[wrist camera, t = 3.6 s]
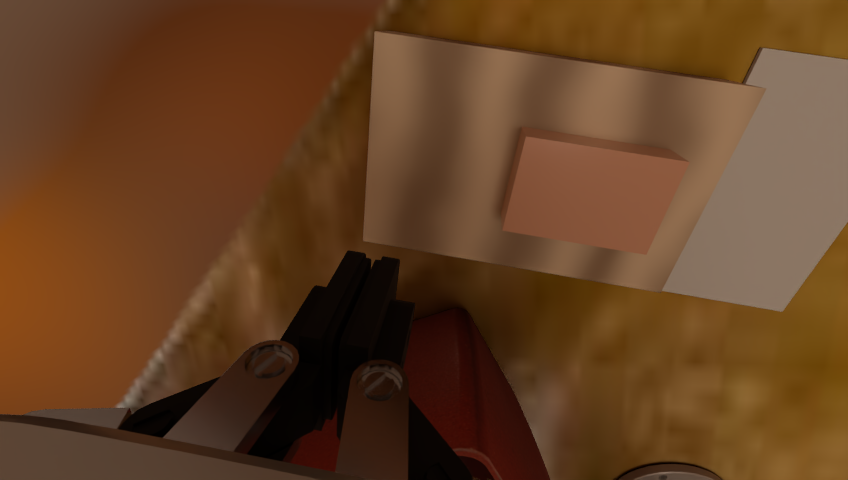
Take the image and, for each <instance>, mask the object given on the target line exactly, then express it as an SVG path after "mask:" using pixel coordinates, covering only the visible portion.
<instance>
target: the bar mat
mask: <svg viewBox="0 0 848 480" xmlns="http://www.w3.org/2000/svg"><path fill="white" fill-rule="evenodd" d="M743 84H748V85H752V86H757V87H762V88H766V91H765V93H764V95H763V97H762V99H761V101H760V102H759V104H758V106H757V108H756V110H755V112H754V114H753V116H752V118H751V120H750V122H749V124H748V126H747V128H746V129H745V131H744V133H743V135H742V137H741V139H740V141H739V143H738V145H737V147H736V149H735V151H734V153H733V154H732V156H731V158H730V160H729V162H728V164H727V166H726V168H725V170H724V172H723V174H722V176H721V178H720V180H719V181H718V183H717V185H716V187H715V189H714V191H713V193H712V195H711V197H710V199H709V201H708V203H707V205H706V206H705V208H704V210H703V212H702V214H701V216H700V218H699V220H698V222H697V224H696V226H695V228H694V230H693V232H692V233H691V235H690V237H689V239H688V241H687V243H686V245H685V247H684V249H683V251H682V253H681V255H680V257H679V258H678V260H677V262H676V264H675V266H674V268H673V270H672V272H671V274H670V276H669V278H668V280H667V282H666V284H665V285H664V287H663V289H662V291H666V292H672V293H678V294H683V295H689V296H695V297H701V298H707V299H712V300H718V301H724V302H730V303H735V304H741V305H747V306H753V307H758V308H764V309H770V310H776V311H783V310H784V309H785V307H786V306H787V304H788V303H789V302H790V300H791V299H792V298H793V296H794V295H795V293H796V292H797V291H798V289H799V288H800V287H801V285H802V284H803V282H804V281H805V280H806V278H807V277H808V276H809V274H810V273H811V271H812V270H813V269H814V267H815V266H816V265H817V263H818V262H819V260H820V259H821V258H822V256H823V255H824V254H825V252H826V251H827V249H828V248H829V247H830V245H831V244H832V243H833V241H834V240H835V238H836V237H837V236H838V234H839V233H840V232H841V230H842V229H843V227H844V226H845V225H846V223H847V222H848V60H845V59H838V58H831V57H824V56H817V55H810V54H803V53H796V52H789V51H782V50H774V49H767V48H760V49H759V51H758V53H757V55H756V57H755V59H754V61H753V63H752V65H751V67H750V69H749V71H748V73H747V75H746V78H745V80H744V82H743Z"/></svg>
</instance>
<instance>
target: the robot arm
mask: <svg viewBox="0 0 848 480" xmlns="http://www.w3.org/2000/svg"><path fill="white" fill-rule="evenodd" d="M399 264H400V260H399V259H395V258H390V257H384V256H383V257H382V259H381V260H375V262H374V264H373V266H372V268H371V259H369V258H366V254H365V253H361V252H355V251H347V253H346V254H345V256H344V258H343V260H342V261H341V263H340V265H339V267H338V268H337V270H336V272H335V273H334V275H333V277H332V279H331V280H330V282H329V284H328V286H327V287H322V286H317V285H316V286H314V287H313V289H312V290H311V292H310V293H309V295H308V296H307V298H306V300H305V301H304V303H303V304H302V306H301V308H300V309H299V311H298V312H297V314H296V316H295V317H294V319H293V320H292V322H291V324H290V325H289V327H288V328H287V330H286V331H285V333H284V335H283V336H282V338H281V339H280V340H268V341H264V342H260V343H258V344H256V345H254V346H252V347H250V348H249V349H248V350H246V351H245V352H244V353H243V354H242V355H241V356H240V357H239V358H238V359H237V360H236V361H235V362H234V363H233V364H232V365H231V367H230V368H229V369H228V370H227V371H226V372H225V373H224V374H223V375H222V376H220V377H218V378H215V379H213V380H210V381H208V382H205V383H202V384H200V385H197V386H195V387H192V388H189V389H187V390H184V391H182V392H179V393H177V394H174V395H171V396H169V397H166V398H164V399H161V400H159V401H156V402H153V403H151V404H149V405H147V406H145V407H143V408H141V409H139V410H137V411H136V412H131V411H130V408H98V409H97V408H92V409H48V410H47V409H45V410H39V411H32V412H29V413H27V414H24V415H8V414H7V415H6V414H0V480H480V479H477V478H475V477H473V476H472V475H471V473H470V472H469V470H468V468H467V467H466V465H465V464H464V463H463V462H462V460H461V459H460V458H459V457H458V456H457V454H456V453H455V452H454V451H453V449H452V448H451V447H450V446H449V445H448V443H447V442H446V441H445V440H444V439H443V437H442V436H441V435H440V434H439V432H438V431H437V430H436V429H435V428H434V426H433V425H432V424H431V423H430V421H429V420H428V419H427V418H426V417H425V415H424V414H423V413H422V412H421V411H420V409H419V408H418V407H417V406H416V404H415V403H414V402H413V401H412V400H411V398H410V397H409V381H408V376H407V374H406V373H405V371H404V370H403V368H404V363H405V359H406V354H407V350H408V345H409V340H410V335H411V329H412V323H413V316H414V309H415V303H412V302H406V301H401V300H396V291H397V282H398V273H399ZM336 409H337V437H338V439H339V440H340V446H339V452H338V457H337V463H336V469H335V472H332V471H327V470H322V469H317V468H312V467H307V466H302V465H297V464H292V463H290V462H291V461H292V459H293V457H294V456H295V454H296V452H297V450H298V449H299V447H300V444H301V442H302V437H303V436H304V435H306V434H308V433H310V432H312V431H313V430H318V431H322V428H323V426H324V423H325V421H326V419H328V420H332V419H333V417H334V415H335V412H336ZM487 480H490V479H488V478H487ZM618 480H722V479H720V478H719V477H718V476H717V475H715V474H713V473H711V472H709V471H707V470H704V469H701V468H698V467H694V466H689V465H682V464H659V465H652V466H647V467H643V468H639V469H637V470H634V471H632V472H629V473H627V474H626V475H624V476H622V477H621V478H620V479H618Z"/></svg>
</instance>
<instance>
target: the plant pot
mask: <svg viewBox="0 0 848 480" xmlns="http://www.w3.org/2000/svg"><path fill="white" fill-rule="evenodd" d="M403 370H404V371H405V373H406V374H407V376H408V381H409V397H410V398H411V400H412V401H413V402H414V403H415V404H416V406H417V407H418V408H419V409H420V411H421V412H422V413H423V414H424V415H425V417H426V418H427V419H428V420H429V421H430V423H431V424H432V425H433V426H434V428H435V429H436V430H437V431H438V432H439V434H440V435H441V436H442V437H443V439H444V440H445V441H446V442H447V443H448V445H449V446H450V447H451V448H452V449H453V451H454V452H455V453H456V454H457V456H458V457H459V458H460V459H461V460H462V462H463V463H464V464H465V465H466V467H467V468H468V470H469V472H470V473H471V475H472V476H473V477H475V478H477V479H480V480H487V478H488V479H490V480H550V478H549V475H548V472H547V469H546V467H545V464H544V461H543V459H542V456H541V454H540V451H539V449H538V446H537V444H536V441H535V439H534V437H533V434H532V432H531V429H530V427H529V425H528V423H527V420H526V418H525V416H524V414H523V411H522V409H521V407H520V405H519V403H518V401H517V398H516V396H515V394H514V393H513V391H512V389H511V387H510V385H509V384H508V382H507V380H506V378H505V376H504V375H503V373H502V371H501V369H500V368H499V366H498V364H497V362H496V360H495V359H494V357H493V355H492V353H491V352H490V350H489V348H488V346H487V345H486V343H485V341H484V339H483V337H482V336H481V334H480V332H479V330H478V329H477V327H476V325H475V323H474V321H473V320H472V318H471V316H470V314H469V313H468V312H467V311H466V310H464V309H462V308H453V309H450V310H447V311H444V312H441V313H438V314H434V315H431V316H428V317H425V318H422V319H418V320H415V321H413V323H412V329H411V335H410V340H409V345H408V350H407V354H406V359H405V363H404V368H403ZM339 446H340V440H339V439H338V437H337V409H336V412H335V415H334V417H333V419H332V420H328V419H326V421H325V423H324V426H323V428H322V431H318V430H313V431H312V432H310V433H308V434H306V435H304V436H303V437H302V442H301V444H300V447H299V449H298V450H297V452H296V454H295V456H294V457H293V459H292V461H291V462H290V463H292V464H297V465H302V466H307V467H312V468H317V469H322V470H327V471H332V472H335V469H336V463H337V457H338V452H339Z"/></svg>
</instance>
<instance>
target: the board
mask: <svg viewBox="0 0 848 480" xmlns="http://www.w3.org/2000/svg"><path fill="white" fill-rule="evenodd" d="M765 91H766V88H762V87H757V86H752V85H748V84H743V83H739V82H734V81H729V80H724V79H717V78H710V77H703V76H696V75H689V74H683V73H676V72H669V71H662V70H655V69H648V68H641V67H635V66H628V65H621V64H614V63H607V62H600V61H593V60H586V59H580V58H573V57H566V56H559V55H552V54H545V53H538V52H532V51H525V50H518V49H511V48H504V47H497V46H490V45H483V44H477V43H470V42H463V41H456V40H449V39H442V38H435V37H429V36H422V35H415V34H408V33H401V32H394V31H375V36H374V53H373V71H372V89H371V106H370V124H369V142H368V160H367V177H366V195H365V213H364V230H363V241H366V242H372V243H377V244H383V245H389V246H395V247H400V248H406V249H412V250H418V251H423V252H429V253H435V254H441V255H447V256H452V257H458V258H464V259H470V260H475V261H481V262H487V263H493V264H498V265H504V266H510V267H516V268H521V269H527V270H533V271H539V272H544V273H550V274H556V275H562V276H567V277H573V278H579V279H585V280H590V281H596V282H602V283H608V284H613V285H619V286H625V287H631V288H637V289H642V290H648V291H654V292H660V293H661V291H662V289H663V287H664V285H665V284H666V282H667V280H668V278H669V276H670V274H671V272H672V270H673V268H674V266H675V264H676V262H677V260H678V258H679V257H680V255H681V253H682V251H683V249H684V247H685V245H686V243H687V241H688V239H689V237H690V235H691V233H692V232H693V230H694V228H695V226H696V224H697V222H698V220H699V218H700V216H701V214H702V212H703V210H704V208H705V206H706V205H707V203H708V201H709V199H710V197H711V195H712V193H713V191H714V189H715V187H716V185H717V183H718V181H719V180H720V178H721V176H722V174H723V172H724V170H725V168H726V166H727V164H728V162H729V160H730V158H731V156H732V154H733V153H734V151H735V149H736V147H737V145H738V143H739V141H740V139H741V137H742V135H743V133H744V131H745V129H746V128H747V126H748V124H749V122H750V120H751V118H752V116H753V114H754V112H755V110H756V108H757V106H758V104H759V102H760V101H761V99H762V97H763V95H764V93H765ZM522 127H528V128H534V129H541V130H547V131H554V132H560V133H567V134H573V135H579V136H586V137H592V138H599V139H605V140H612V141H618V142H625V143H631V144H637V145H644V146H650V147H657V148H663V149H670V150H672V151H674V152H675V153H677V154H678V155H680V156H681V157H683V158H684V159H686V160H687V161H689V162H690V163H689V165H688V167H687V169H686V171H685V174H684V176H683V178H682V180H681V182H680V184H679V186H678V189H677V191H676V193H675V195H674V197H673V199H672V201H671V203H670V206H669V208H668V210H667V212H666V214H665V216H664V218H663V220H662V223H661V225H660V227H659V229H658V231H657V233H656V235H655V237H654V240H653V242H652V244H651V246H650V248H649V250H648V252H647V255H644V254H638V253H632V252H626V251H620V250H614V249H608V248H602V247H596V246H591V245H585V244H579V243H573V242H567V241H561V240H555V239H549V238H543V237H537V236H531V235H526V234H520V233H514V232H508V231H502V223H501V210H502V206H503V202H504V198H505V194H506V190H507V186H508V182H509V177H510V173H511V169H512V165H513V161H514V157H515V153H516V149H517V145H518V140H519V136H520V132H521V128H522Z"/></svg>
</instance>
